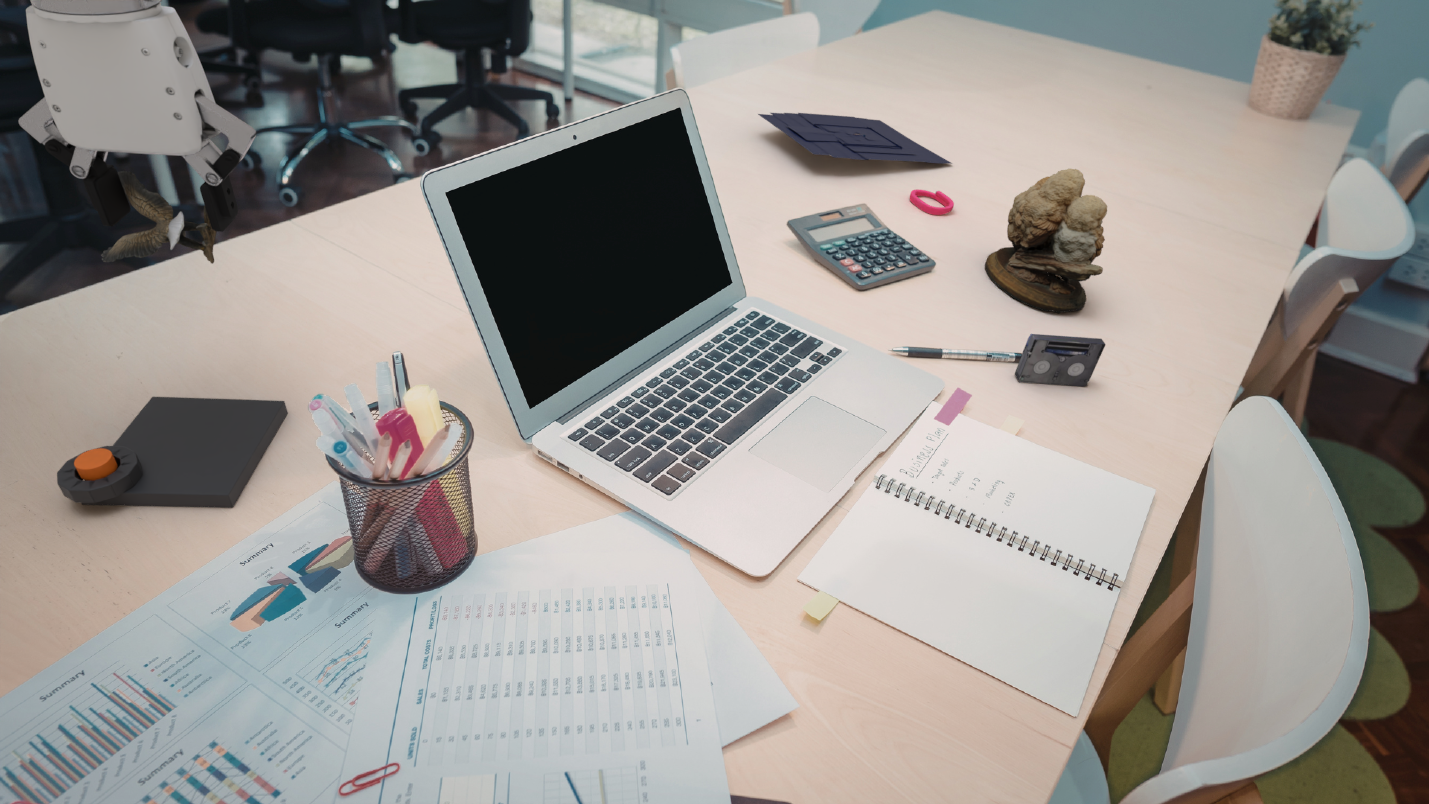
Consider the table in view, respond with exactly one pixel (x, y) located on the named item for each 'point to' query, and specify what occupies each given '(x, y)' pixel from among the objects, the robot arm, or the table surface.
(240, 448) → the scale
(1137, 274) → the table surface
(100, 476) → the button
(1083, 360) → the mini dv tape
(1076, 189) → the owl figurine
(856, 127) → the navy patterned tile
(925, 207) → the fitness band
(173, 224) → the eagle figurine
